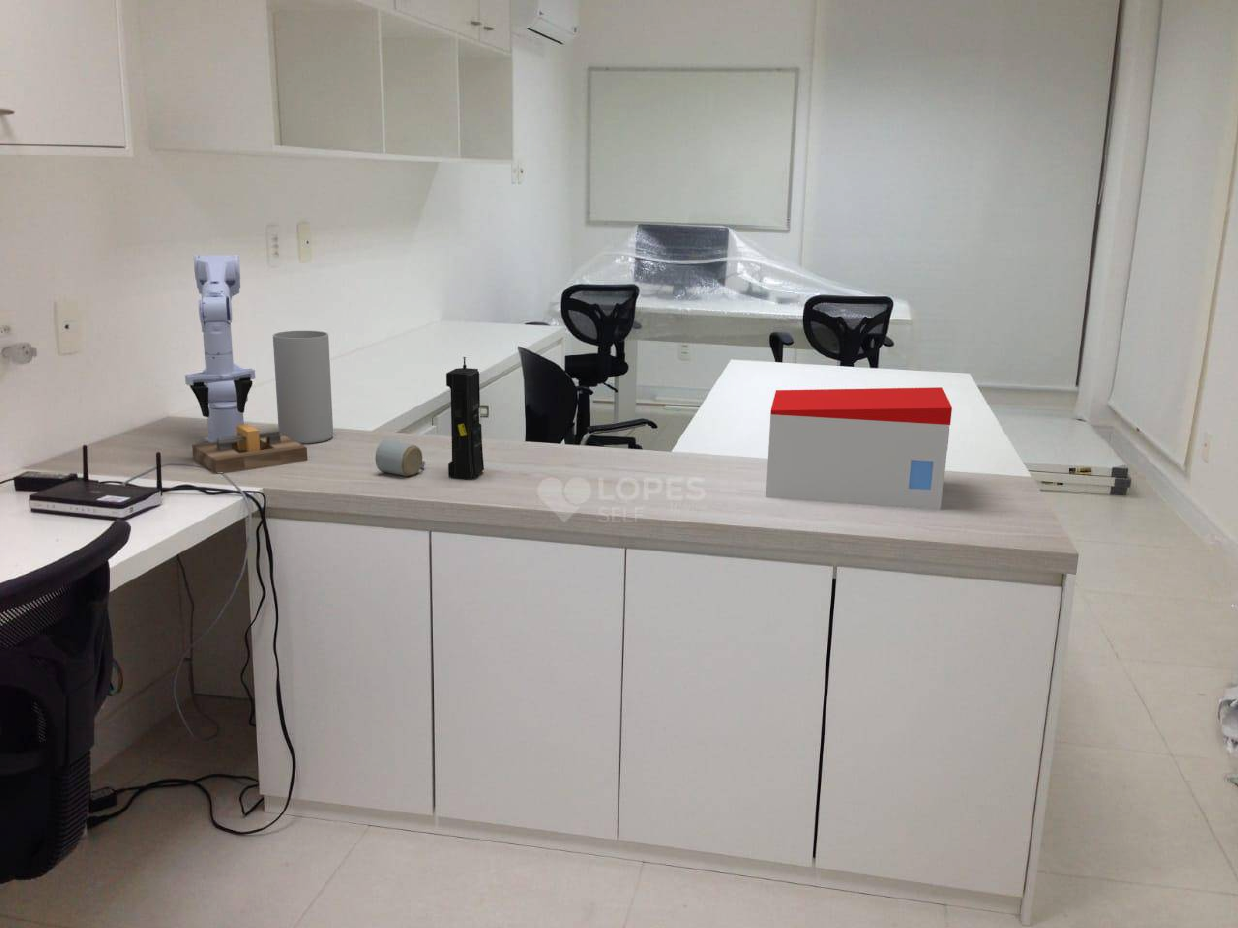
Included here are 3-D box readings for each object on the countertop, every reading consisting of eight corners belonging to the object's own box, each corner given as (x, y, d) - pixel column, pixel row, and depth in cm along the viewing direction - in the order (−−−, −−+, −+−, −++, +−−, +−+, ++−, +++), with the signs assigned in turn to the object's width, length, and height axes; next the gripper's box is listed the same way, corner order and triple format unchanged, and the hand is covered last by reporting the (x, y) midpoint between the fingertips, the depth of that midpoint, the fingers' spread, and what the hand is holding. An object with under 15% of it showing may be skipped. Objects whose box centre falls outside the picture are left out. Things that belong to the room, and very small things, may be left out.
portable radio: (473, 481, 230) (471, 364, 224) (446, 479, 231) (443, 362, 225) (485, 471, 238) (483, 357, 231) (458, 469, 239) (456, 356, 232)
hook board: (193, 457, 244) (190, 433, 243) (280, 445, 256) (279, 422, 255) (216, 474, 232) (214, 448, 231) (307, 460, 244) (306, 436, 242)
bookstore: (942, 510, 218) (953, 407, 212) (765, 497, 224) (771, 397, 218) (933, 482, 238) (943, 387, 232) (771, 470, 244) (776, 378, 238)
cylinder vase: (268, 441, 260) (261, 336, 253) (302, 430, 271) (296, 329, 264) (311, 447, 255) (305, 340, 249) (343, 435, 266) (339, 333, 260)
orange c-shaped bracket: (237, 449, 246) (235, 425, 245) (248, 447, 248) (247, 424, 246) (249, 456, 240) (247, 431, 239) (260, 454, 242) (258, 430, 240)
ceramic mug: (404, 480, 230) (403, 446, 229) (374, 474, 234) (374, 441, 232) (433, 470, 239) (433, 437, 237) (404, 464, 243) (404, 432, 241)
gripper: (190, 358, 229) (196, 421, 233) (258, 352, 238) (262, 413, 242) (179, 353, 235) (185, 415, 238) (246, 347, 243) (251, 407, 247)
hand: (223, 413), depth 240 cm, fingers open, 7 cm apart
